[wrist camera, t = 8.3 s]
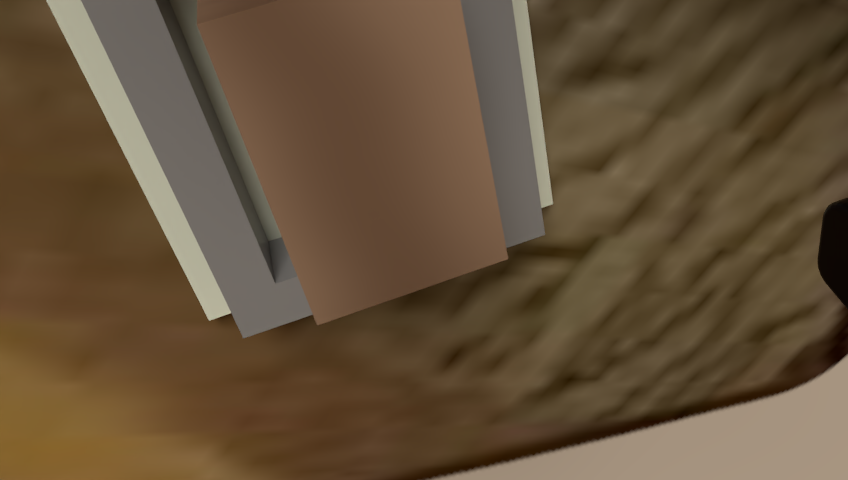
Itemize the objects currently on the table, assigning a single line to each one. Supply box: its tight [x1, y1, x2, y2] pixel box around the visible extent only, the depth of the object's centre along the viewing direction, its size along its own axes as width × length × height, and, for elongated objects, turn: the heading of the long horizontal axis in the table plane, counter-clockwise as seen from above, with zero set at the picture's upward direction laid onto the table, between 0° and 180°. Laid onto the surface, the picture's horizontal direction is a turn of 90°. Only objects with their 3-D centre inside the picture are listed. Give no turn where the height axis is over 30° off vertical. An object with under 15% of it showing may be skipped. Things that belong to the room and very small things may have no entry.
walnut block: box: [197, 0, 508, 325], centre depth 14 cm, size 4×6×5 cm, turn 13°
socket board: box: [46, 0, 553, 338], centre depth 16 cm, size 10×11×2 cm
